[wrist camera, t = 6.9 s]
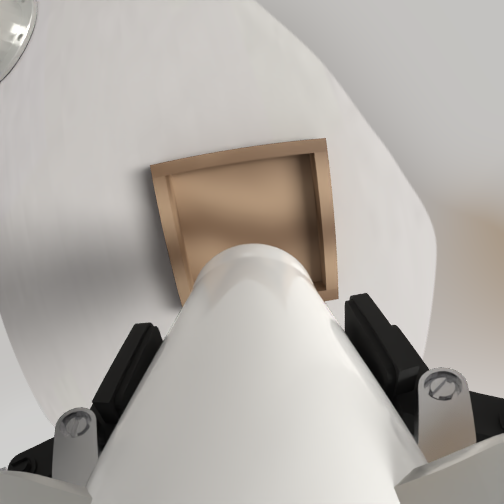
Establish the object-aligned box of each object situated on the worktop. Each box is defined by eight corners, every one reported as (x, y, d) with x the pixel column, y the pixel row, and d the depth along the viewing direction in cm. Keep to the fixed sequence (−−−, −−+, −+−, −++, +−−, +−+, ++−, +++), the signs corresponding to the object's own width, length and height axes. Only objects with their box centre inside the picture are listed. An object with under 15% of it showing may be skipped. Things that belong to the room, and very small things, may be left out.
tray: (159, 163, 23) (149, 165, 21) (318, 139, 23) (325, 138, 21) (190, 306, 28) (185, 320, 25) (331, 286, 27) (338, 298, 25)
